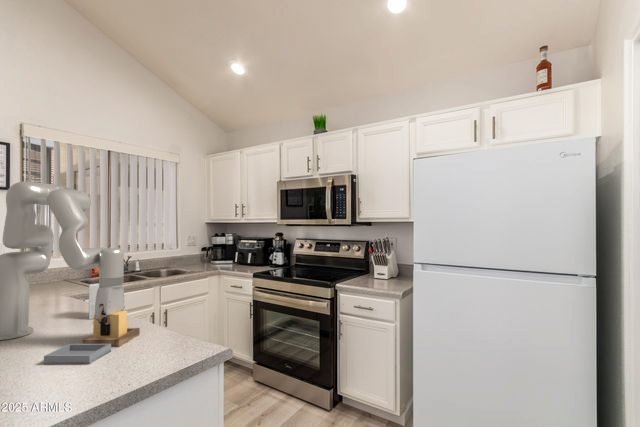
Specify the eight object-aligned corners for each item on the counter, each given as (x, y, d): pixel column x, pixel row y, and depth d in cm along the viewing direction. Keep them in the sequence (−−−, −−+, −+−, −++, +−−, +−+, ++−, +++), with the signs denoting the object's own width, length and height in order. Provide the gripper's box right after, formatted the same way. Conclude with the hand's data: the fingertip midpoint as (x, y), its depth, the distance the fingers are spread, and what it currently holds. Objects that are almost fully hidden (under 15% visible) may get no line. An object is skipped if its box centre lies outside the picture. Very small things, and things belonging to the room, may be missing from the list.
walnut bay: (82, 346, 110) (82, 339, 110) (106, 334, 122) (106, 328, 122) (118, 346, 110) (119, 339, 110) (139, 334, 122) (139, 327, 122)
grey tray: (43, 364, 96) (44, 355, 96) (69, 351, 106) (69, 343, 106) (89, 364, 96) (89, 355, 96) (110, 351, 106) (111, 343, 106)
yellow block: (91, 343, 114) (92, 314, 114) (101, 338, 119) (101, 310, 119) (118, 343, 114) (118, 314, 114) (126, 338, 119) (127, 310, 119)
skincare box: (104, 317, 145) (104, 284, 146) (87, 319, 142) (88, 286, 143) (104, 313, 152) (105, 282, 153) (88, 315, 149) (89, 283, 150)
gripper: (116, 278, 125) (115, 325, 125) (83, 286, 108) (82, 341, 108) (135, 278, 125) (134, 325, 125) (105, 286, 108) (104, 341, 108)
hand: (110, 332), depth 116 cm, fingers closed on yellow block, 5 cm apart
